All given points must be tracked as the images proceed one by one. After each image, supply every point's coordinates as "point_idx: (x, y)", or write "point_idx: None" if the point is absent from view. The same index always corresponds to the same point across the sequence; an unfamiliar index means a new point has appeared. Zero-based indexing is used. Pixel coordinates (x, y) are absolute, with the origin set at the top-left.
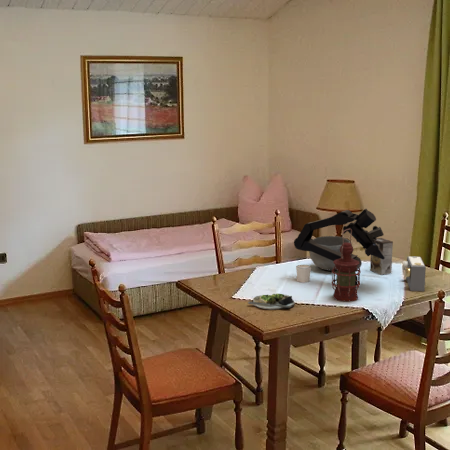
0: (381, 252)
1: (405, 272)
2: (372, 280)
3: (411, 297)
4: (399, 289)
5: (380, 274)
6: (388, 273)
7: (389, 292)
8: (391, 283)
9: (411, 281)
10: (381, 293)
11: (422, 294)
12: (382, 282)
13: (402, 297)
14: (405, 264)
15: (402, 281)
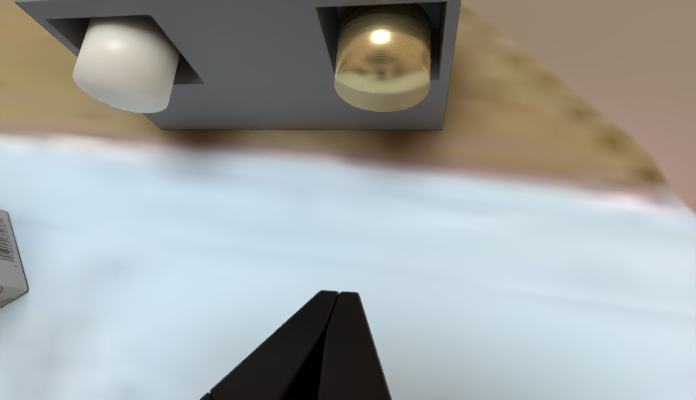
0: (259, 365)
1: (368, 90)
2: (160, 392)
3: (616, 139)
4: (412, 201)
5: (15, 297)
6: (10, 232)
7: (508, 291)
8: (253, 242)
9: (447, 83)
10: (552, 368)
11: (519, 62)
12: (223, 311)
13: (634, 204)
14: (151, 60)
15: (207, 157)
